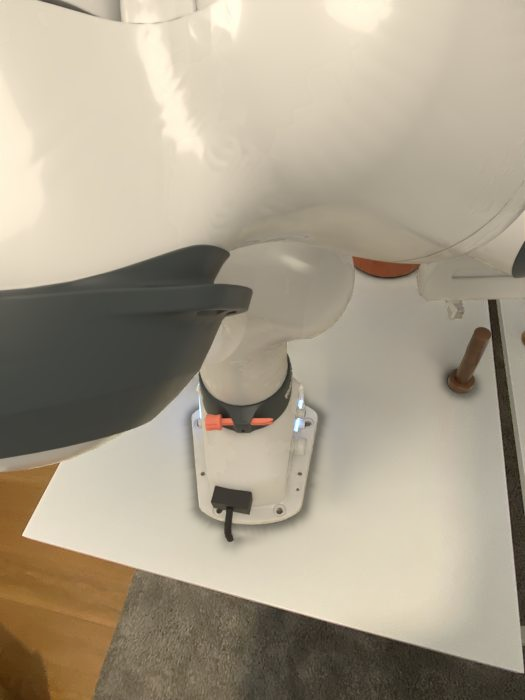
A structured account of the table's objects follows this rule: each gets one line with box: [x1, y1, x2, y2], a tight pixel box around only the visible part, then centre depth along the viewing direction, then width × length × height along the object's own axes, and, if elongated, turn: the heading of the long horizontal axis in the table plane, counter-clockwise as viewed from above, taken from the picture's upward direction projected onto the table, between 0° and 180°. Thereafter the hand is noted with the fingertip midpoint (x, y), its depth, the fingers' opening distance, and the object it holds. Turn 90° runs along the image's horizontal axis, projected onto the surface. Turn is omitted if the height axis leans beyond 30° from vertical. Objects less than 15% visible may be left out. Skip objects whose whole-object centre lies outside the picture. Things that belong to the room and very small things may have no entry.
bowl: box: [352, 256, 420, 278], centre depth 91 cm, size 14×14×6 cm
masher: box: [447, 326, 492, 395], centre depth 70 cm, size 4×4×12 cm
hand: (492, 314), depth 62 cm, fingers open, 8 cm apart
